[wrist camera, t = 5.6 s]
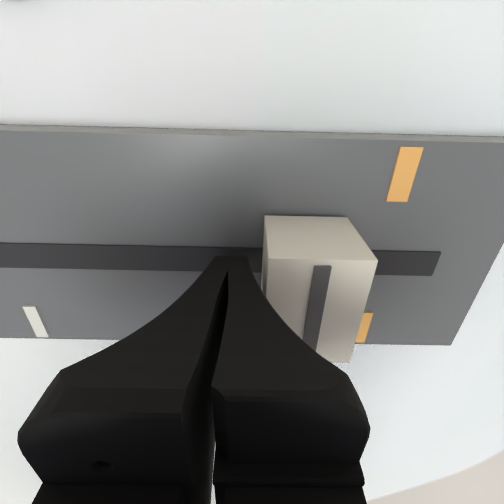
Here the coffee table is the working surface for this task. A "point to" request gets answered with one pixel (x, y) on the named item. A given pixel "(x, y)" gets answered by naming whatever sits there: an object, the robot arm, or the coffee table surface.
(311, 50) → the coffee table surface
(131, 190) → the fader panel
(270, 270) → the fader cap
